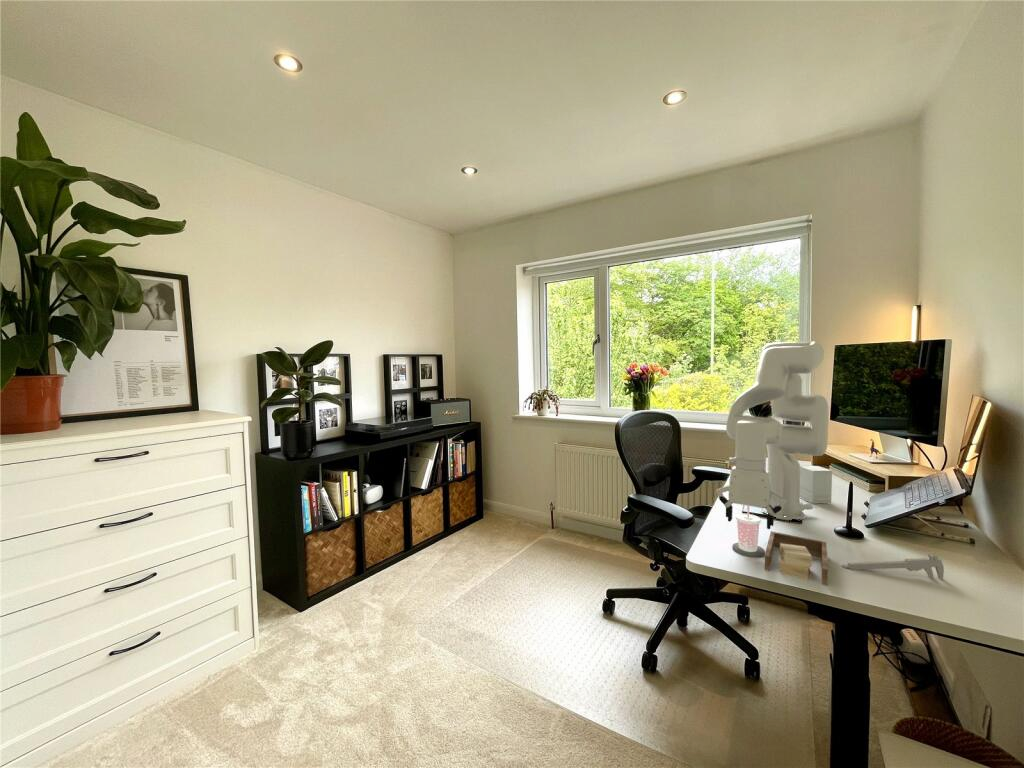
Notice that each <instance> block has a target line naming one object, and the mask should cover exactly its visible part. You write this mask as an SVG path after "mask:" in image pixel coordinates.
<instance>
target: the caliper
mask: <svg viewBox="0 0 1024 768" xmlns="http://www.w3.org/2000/svg"><path fill="white" fill-rule="evenodd" d="M927 556H928V558H926V557H923V558H905V559H904V560H894V561H893V560H889V561H859V562H847V564H843V565H841V566H842V568H844V569H850V570H858V571H859V570H860V571H861V570H863V571H864V570H882V569H883V570H889V569H891V570H892V569H906V570H907V571H908V572H913V571H915V572H917V571H922V570H924V571H925V573H926V575H927V576H928V577H929V578H930V579H933V580H934V579H935V576H934V575H935V574H934V573H933V569H932V568H935V571H936V574H937V575H936V576H937V578H938V579H939V580H943V579H944V574H945V573H944V572H945V571H944V569H945V568H944V564H943V561H942V559H941V558H939V557H938V555H937V554H935V553H933V555H931V554H928V553H927Z"/></svg>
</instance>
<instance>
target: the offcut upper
mask: <svg viewBox="0 0 1024 768" xmlns="http://www.w3.org/2000/svg"><path fill="white" fill-rule="evenodd" d="M779 555H780V558H781V557H782V559H783V561H784V563H785V564H788V565H795V566H802V567H809V568H810V569H811V568H812V560H813V559H812V557H813V555H811V554H810V553H809V551H808V550H807V548H806V547H805V546H797V545H789V544H782V543H780V548H779Z"/></svg>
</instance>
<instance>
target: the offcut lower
mask: <svg viewBox="0 0 1024 768" xmlns="http://www.w3.org/2000/svg"><path fill="white" fill-rule="evenodd" d="M778 566H779V569H778V572H779V573H781V574H786V575H790V576H792V575H793V577H796V576H797V578H801V579H803V580H804V579H805V580H809V576H810V569H811V568H809V567H802V566H795V565H788V564H785V563H784V561H783V559H782V557H781V556H780V559H779V565H778Z"/></svg>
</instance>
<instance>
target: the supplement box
mask: <svg viewBox="0 0 1024 768" xmlns="http://www.w3.org/2000/svg"><path fill="white" fill-rule="evenodd" d="M832 483H833V471H832V470H831V469H828V468H825V467H821V466H819V465H809V466H807V465H804V466H801V465H800V497H801V498H802V500H803V499H804V501H806V502H808V503H810V502H811V503H810V504H812V503H831V504H832V491H833V489H832V488H833V487H832V486H833V484H832ZM801 498H800V499H801Z"/></svg>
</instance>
